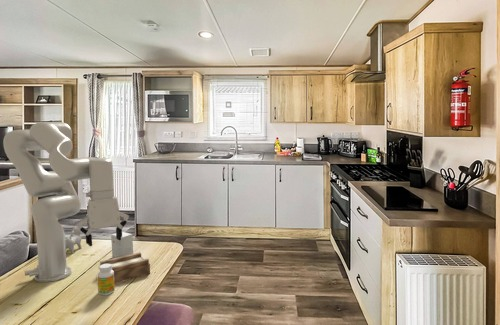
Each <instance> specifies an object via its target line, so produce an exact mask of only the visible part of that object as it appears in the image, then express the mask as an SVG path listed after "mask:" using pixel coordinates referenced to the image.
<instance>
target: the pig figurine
mask: <svg viewBox="0 0 500 325" xmlns="http://www.w3.org/2000/svg"><path fill="white" fill-rule="evenodd" d="M81 234H83V232H82V231H80V229H79V228H78V227H77V225H75V226H74V225H73V227H72V230H71V233H70V236H68V237H67V238H65V248H66V250H68V249H69V251H70V252H71V255H73V254H75V249H74V248H75V245H76V246H77V248H78V249H79V250H81V249H83V248H82V245H81V244H82V242H81V241H82V236H81Z"/></svg>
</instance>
